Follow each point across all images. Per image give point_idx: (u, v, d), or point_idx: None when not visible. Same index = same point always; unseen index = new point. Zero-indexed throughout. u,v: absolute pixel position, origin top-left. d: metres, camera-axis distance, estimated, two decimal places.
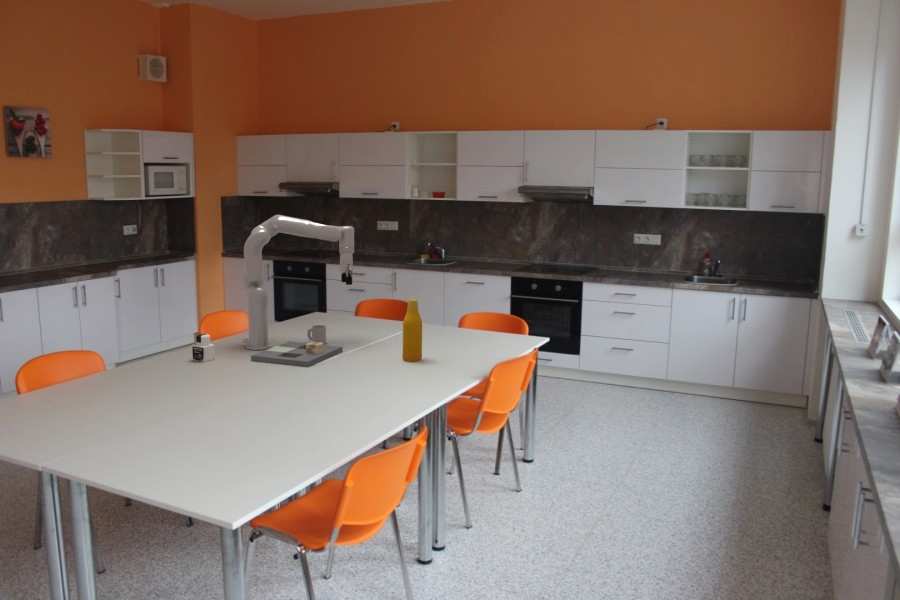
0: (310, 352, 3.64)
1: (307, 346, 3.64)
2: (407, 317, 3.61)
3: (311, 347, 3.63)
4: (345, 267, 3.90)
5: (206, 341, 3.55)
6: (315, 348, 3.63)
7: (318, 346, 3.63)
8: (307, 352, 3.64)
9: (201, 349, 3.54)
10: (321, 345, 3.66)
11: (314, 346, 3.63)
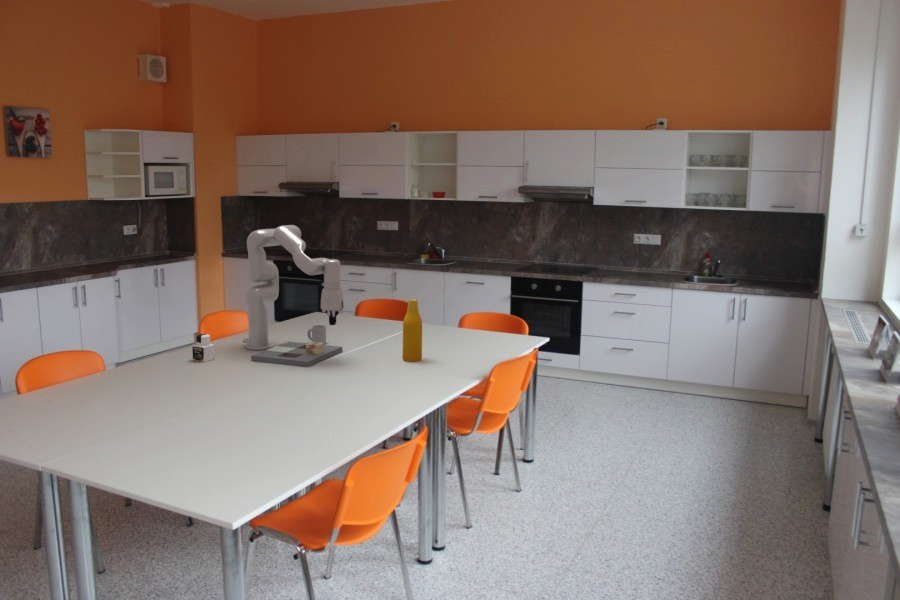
0: (310, 352, 3.64)
1: (307, 346, 3.64)
2: (407, 317, 3.61)
3: (311, 347, 3.63)
4: (340, 304, 3.56)
5: (206, 341, 3.55)
6: (315, 348, 3.63)
7: (318, 346, 3.63)
8: (307, 352, 3.64)
9: (201, 349, 3.54)
10: (321, 345, 3.66)
11: (314, 346, 3.63)
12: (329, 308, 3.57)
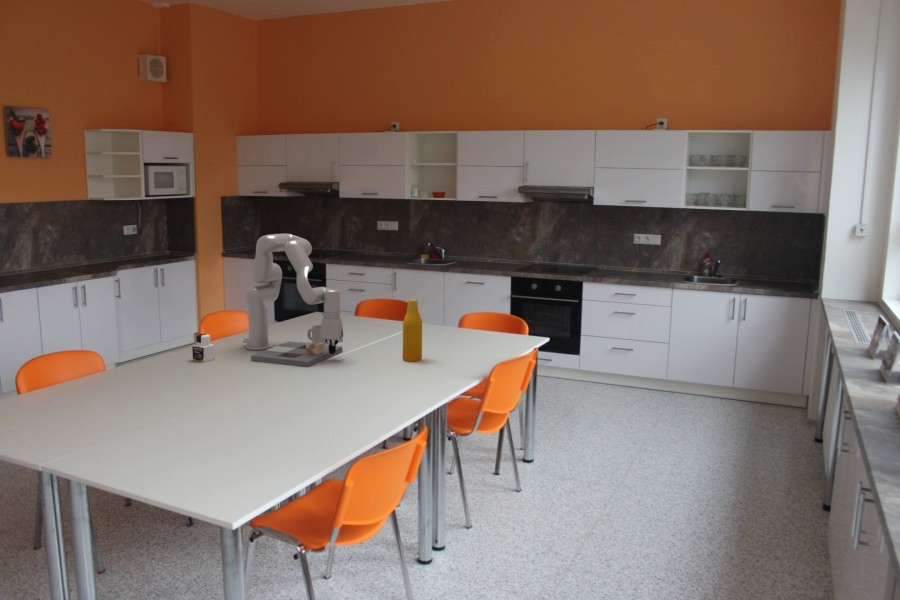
0: (310, 352, 3.64)
1: (307, 346, 3.64)
2: (407, 317, 3.61)
3: (311, 347, 3.63)
4: (339, 334, 3.58)
5: (206, 341, 3.55)
6: (315, 348, 3.63)
7: (318, 346, 3.63)
8: (307, 352, 3.64)
9: (201, 349, 3.54)
10: (321, 345, 3.66)
11: (314, 346, 3.63)
12: (329, 337, 3.60)
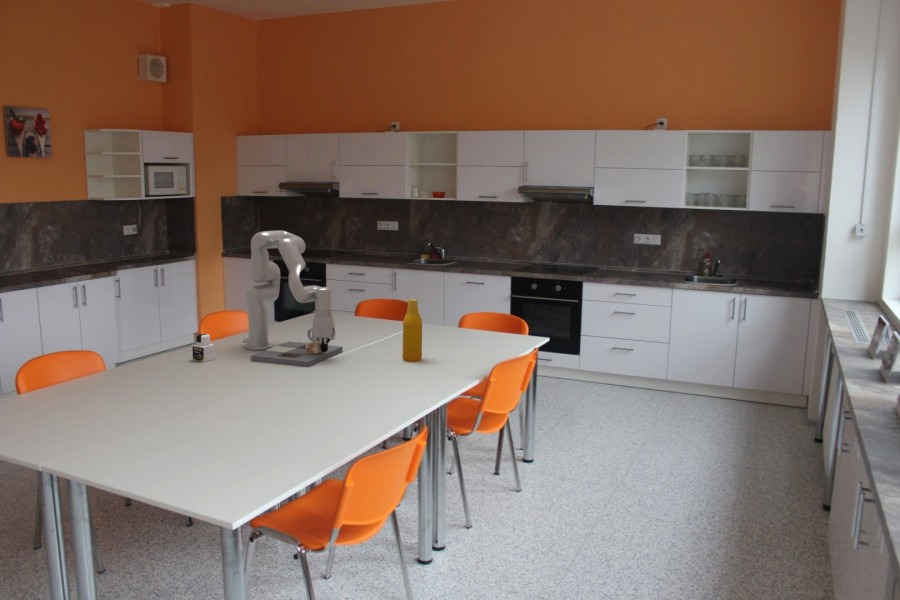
0: (310, 352, 3.64)
1: (306, 346, 3.64)
2: (407, 317, 3.61)
3: (310, 346, 3.63)
4: (331, 332, 3.60)
5: (206, 341, 3.55)
6: (314, 347, 3.63)
7: (317, 345, 3.63)
8: (307, 352, 3.64)
9: (201, 349, 3.54)
10: (320, 344, 3.66)
11: (313, 345, 3.63)
12: (321, 335, 3.61)
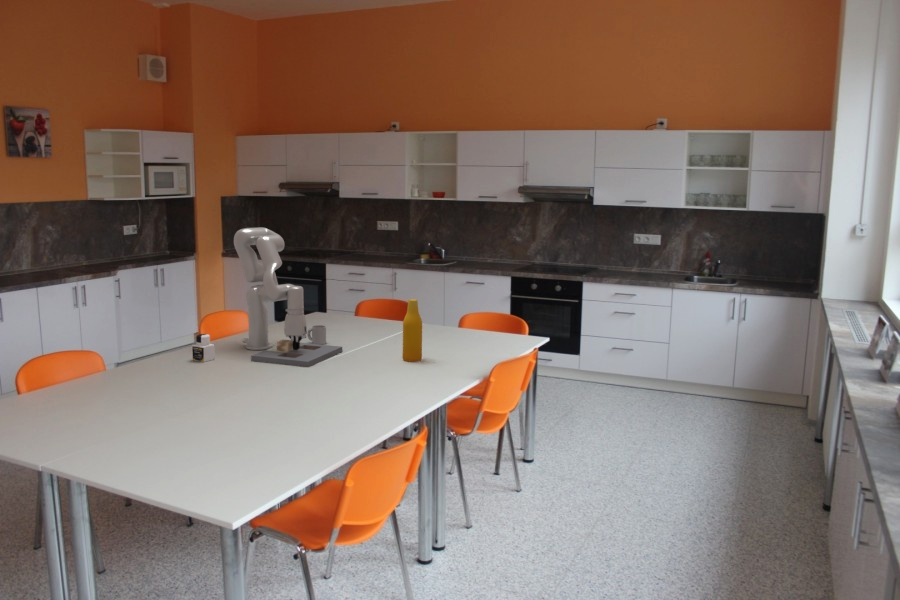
0: (281, 349, 3.68)
1: (277, 344, 3.68)
2: (407, 317, 3.61)
3: (282, 345, 3.67)
4: (303, 330, 3.65)
5: (206, 341, 3.55)
6: (286, 345, 3.67)
7: (288, 343, 3.68)
8: (278, 350, 3.68)
9: (201, 349, 3.54)
10: (291, 342, 3.70)
11: (284, 343, 3.67)
12: (292, 333, 3.66)
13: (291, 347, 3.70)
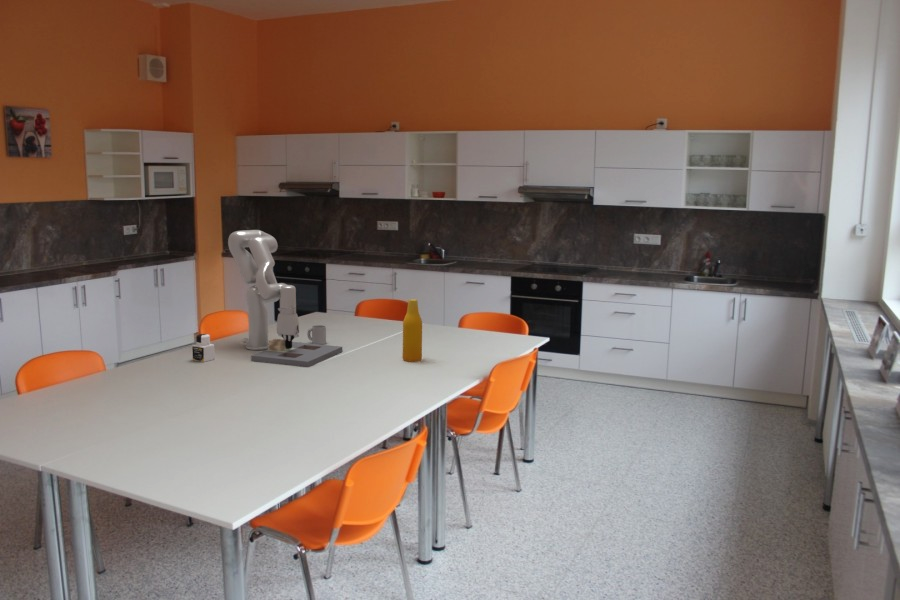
0: (273, 349, 3.69)
1: (270, 343, 3.69)
2: (407, 317, 3.61)
3: (274, 344, 3.68)
4: (295, 329, 3.66)
5: (206, 341, 3.55)
6: (278, 345, 3.68)
7: (281, 343, 3.69)
8: (270, 349, 3.69)
9: (201, 349, 3.54)
10: (284, 342, 3.71)
11: (277, 343, 3.68)
12: (285, 332, 3.67)
13: (283, 346, 3.71)
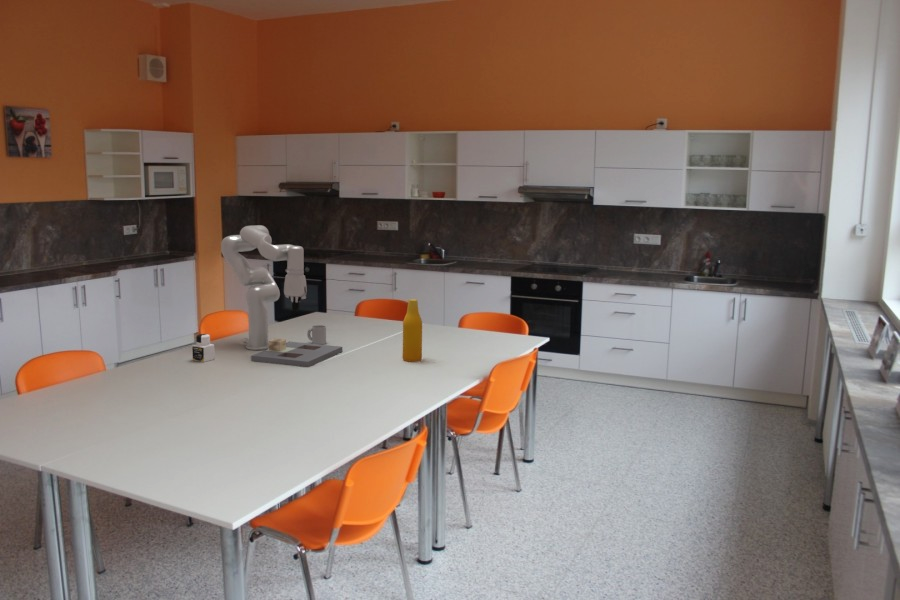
0: (273, 349, 3.69)
1: (270, 343, 3.69)
2: (407, 317, 3.61)
3: (274, 344, 3.68)
4: (302, 290, 3.62)
5: (206, 341, 3.55)
6: (278, 345, 3.68)
7: (281, 343, 3.69)
8: (270, 349, 3.69)
9: (201, 349, 3.54)
10: (284, 342, 3.71)
11: (277, 343, 3.68)
12: (292, 294, 3.63)
13: (283, 346, 3.71)
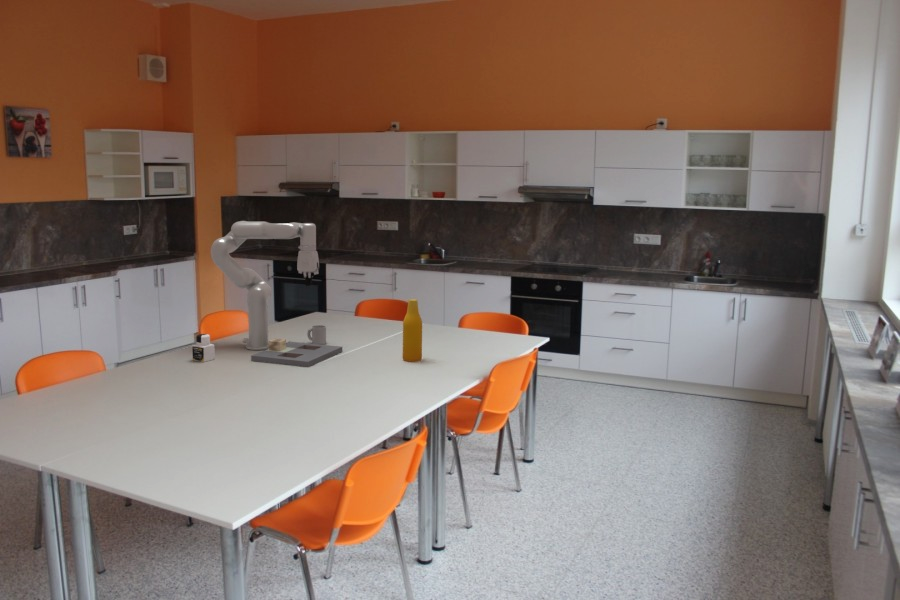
0: (273, 349, 3.69)
1: (270, 343, 3.69)
2: (407, 317, 3.61)
3: (274, 344, 3.68)
4: (315, 266, 3.76)
5: (206, 341, 3.55)
6: (278, 345, 3.68)
7: (281, 343, 3.69)
8: (270, 349, 3.69)
9: (201, 349, 3.54)
10: (284, 342, 3.71)
11: (277, 343, 3.68)
12: (305, 269, 3.77)
13: (283, 346, 3.71)
